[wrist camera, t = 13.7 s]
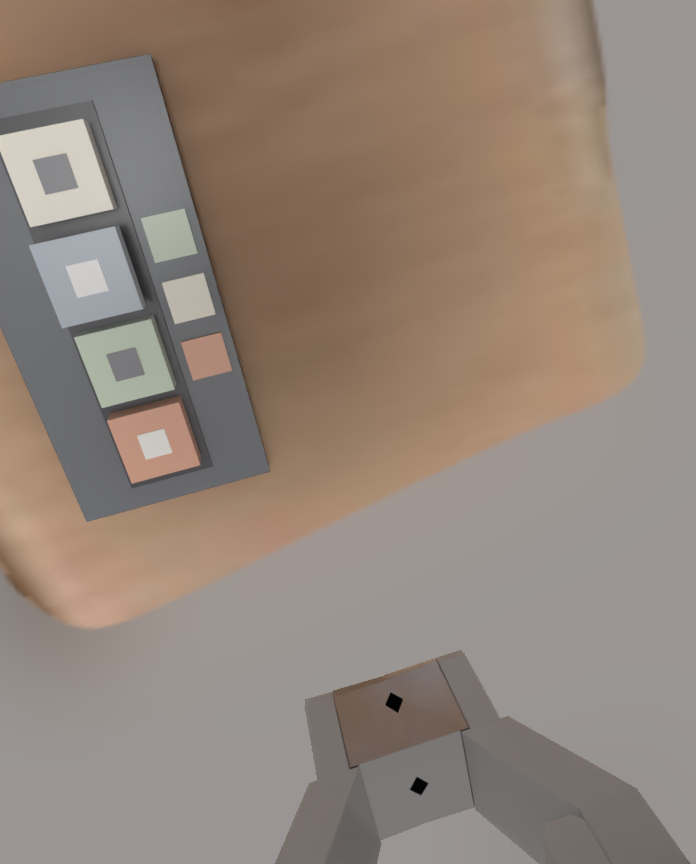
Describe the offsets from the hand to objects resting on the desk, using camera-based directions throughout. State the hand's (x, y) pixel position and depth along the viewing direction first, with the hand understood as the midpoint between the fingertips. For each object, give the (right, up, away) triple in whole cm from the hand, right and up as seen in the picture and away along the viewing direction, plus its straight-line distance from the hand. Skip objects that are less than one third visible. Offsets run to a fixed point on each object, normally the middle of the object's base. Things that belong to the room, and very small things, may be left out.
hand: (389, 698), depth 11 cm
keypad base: (-14, +12, +24) cm, 30 cm away
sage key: (-13, +9, +24) cm, 29 cm away
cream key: (-15, +18, +20) cm, 31 cm away
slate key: (-14, +13, +21) cm, 28 cm away
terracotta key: (-12, +5, +26) cm, 29 cm away
